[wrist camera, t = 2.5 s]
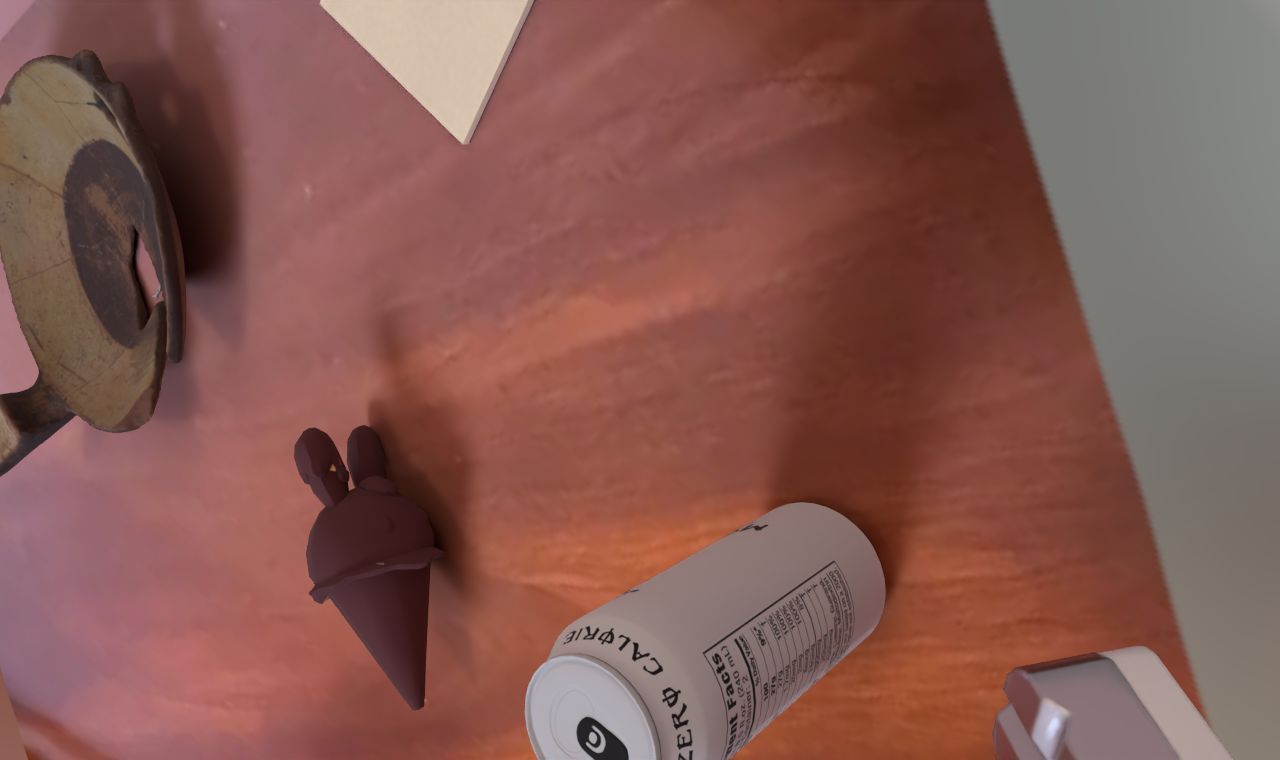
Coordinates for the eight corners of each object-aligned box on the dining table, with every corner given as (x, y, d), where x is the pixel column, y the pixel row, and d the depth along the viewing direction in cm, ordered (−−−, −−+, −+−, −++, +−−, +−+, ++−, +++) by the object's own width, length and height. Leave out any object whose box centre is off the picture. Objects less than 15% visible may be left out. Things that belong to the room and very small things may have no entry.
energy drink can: (788, 467, 42) (539, 594, 30) (921, 550, 39) (704, 725, 27) (738, 585, 44) (489, 746, 32) (859, 671, 41) (636, 880, 30)
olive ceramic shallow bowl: (305, 290, 58) (176, 307, 52) (114, 509, 76) (1, 540, 70) (144, -30, 62) (5, -49, 56) (-2, 249, 79) (-120, 258, 73)
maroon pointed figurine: (434, 714, 48) (343, 404, 50) (315, 748, 51) (234, 453, 53) (514, 674, 54) (430, 400, 56) (404, 706, 57) (329, 444, 59)
